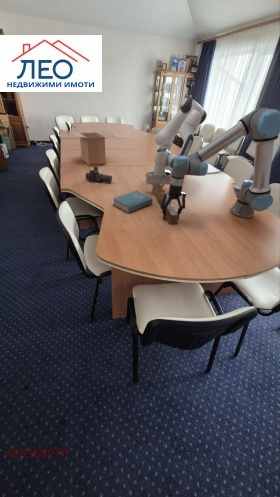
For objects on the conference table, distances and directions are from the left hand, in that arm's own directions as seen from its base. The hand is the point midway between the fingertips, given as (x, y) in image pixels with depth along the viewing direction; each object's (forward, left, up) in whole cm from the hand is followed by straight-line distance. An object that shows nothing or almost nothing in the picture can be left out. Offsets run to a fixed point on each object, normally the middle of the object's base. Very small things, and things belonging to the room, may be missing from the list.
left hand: (157, 189), depth 176 cm
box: (+23, -97, -3) cm, 100 cm away
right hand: (+13, +41, -3) cm, 43 cm away
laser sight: (+36, -38, -3) cm, 53 cm away
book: (+28, +14, -3) cm, 32 cm away
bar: (+7, +20, -3) cm, 21 cm away
